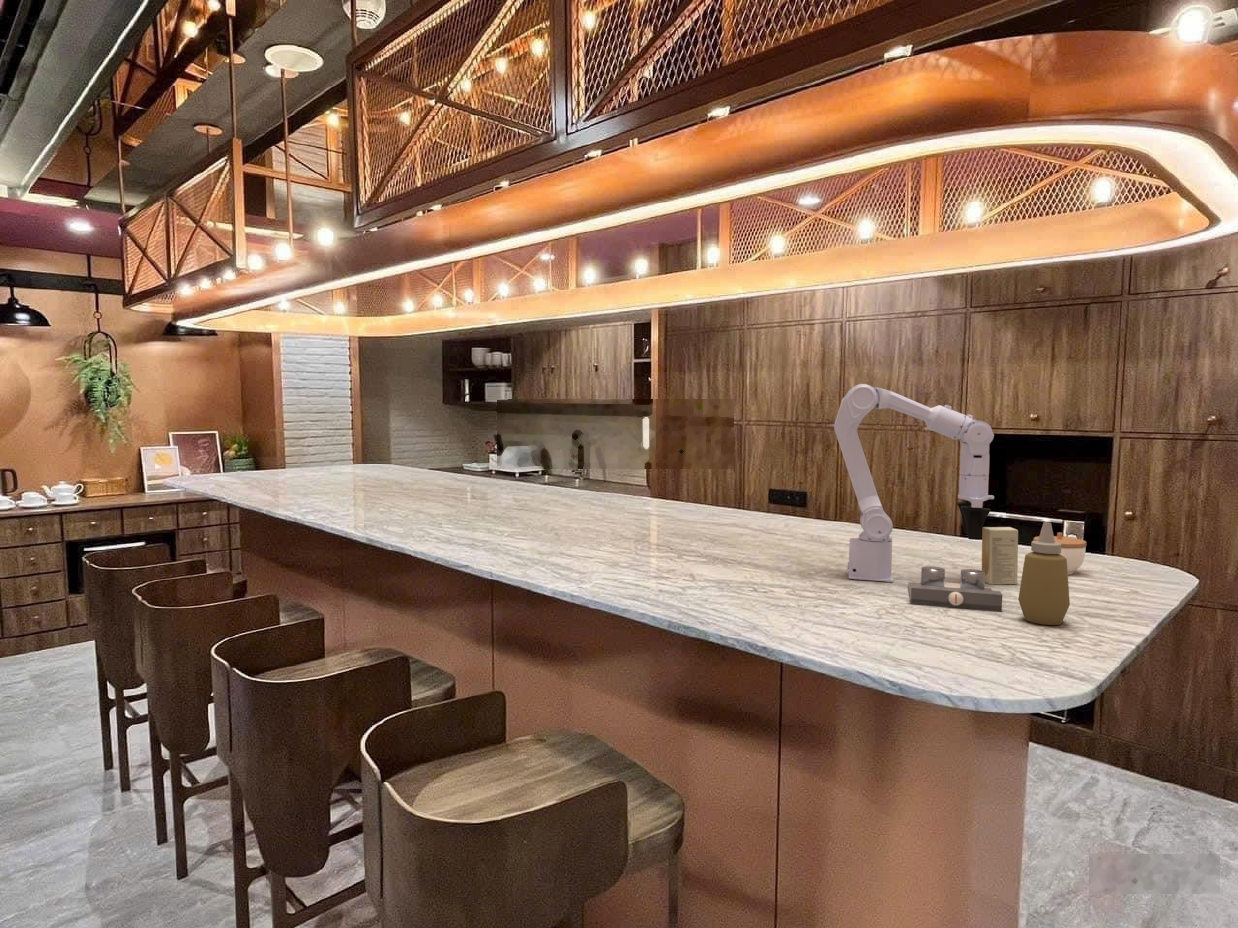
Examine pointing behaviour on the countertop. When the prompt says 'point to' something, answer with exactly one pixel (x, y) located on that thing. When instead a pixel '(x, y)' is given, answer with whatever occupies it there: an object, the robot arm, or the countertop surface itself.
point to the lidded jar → (1070, 551)
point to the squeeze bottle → (1044, 581)
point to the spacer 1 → (932, 576)
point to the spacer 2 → (972, 579)
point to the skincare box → (1000, 555)
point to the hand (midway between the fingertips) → (971, 536)
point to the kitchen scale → (955, 597)
